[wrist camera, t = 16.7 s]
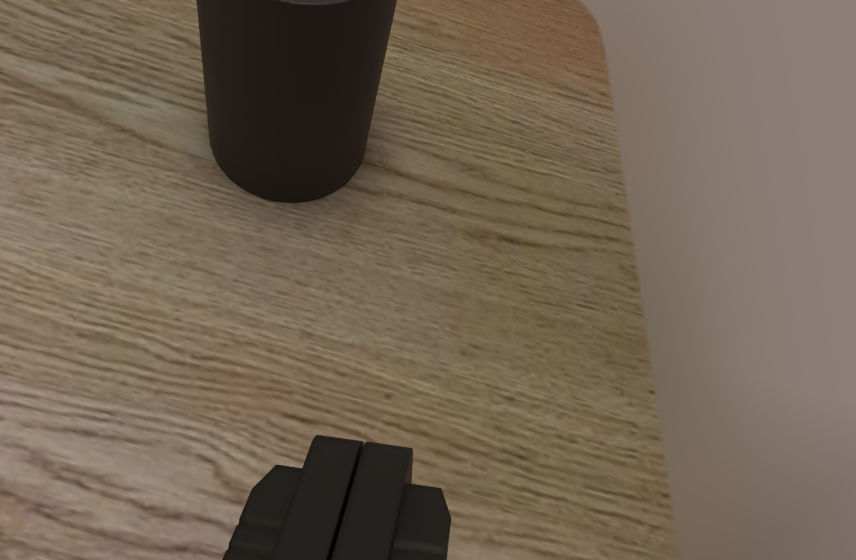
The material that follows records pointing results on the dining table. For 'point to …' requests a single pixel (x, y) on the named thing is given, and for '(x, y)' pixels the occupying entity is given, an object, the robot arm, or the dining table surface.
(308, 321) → the dining table surface
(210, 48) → the canister
